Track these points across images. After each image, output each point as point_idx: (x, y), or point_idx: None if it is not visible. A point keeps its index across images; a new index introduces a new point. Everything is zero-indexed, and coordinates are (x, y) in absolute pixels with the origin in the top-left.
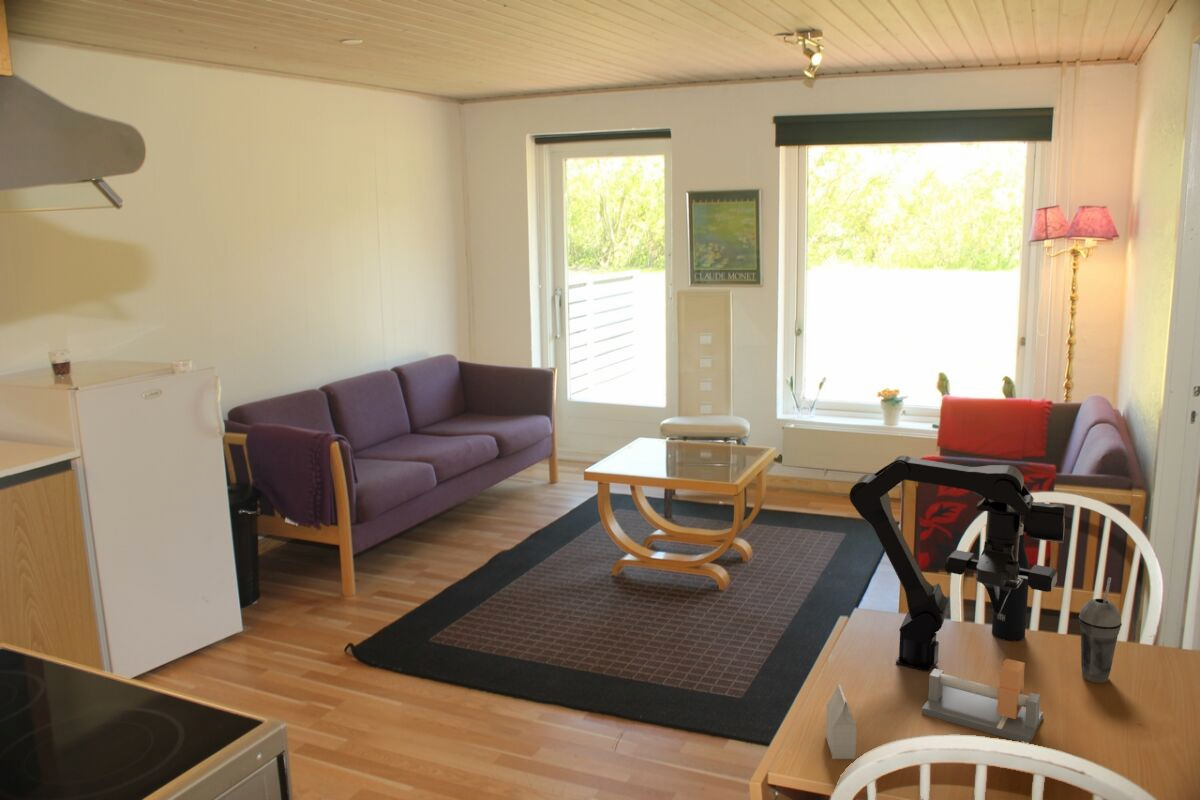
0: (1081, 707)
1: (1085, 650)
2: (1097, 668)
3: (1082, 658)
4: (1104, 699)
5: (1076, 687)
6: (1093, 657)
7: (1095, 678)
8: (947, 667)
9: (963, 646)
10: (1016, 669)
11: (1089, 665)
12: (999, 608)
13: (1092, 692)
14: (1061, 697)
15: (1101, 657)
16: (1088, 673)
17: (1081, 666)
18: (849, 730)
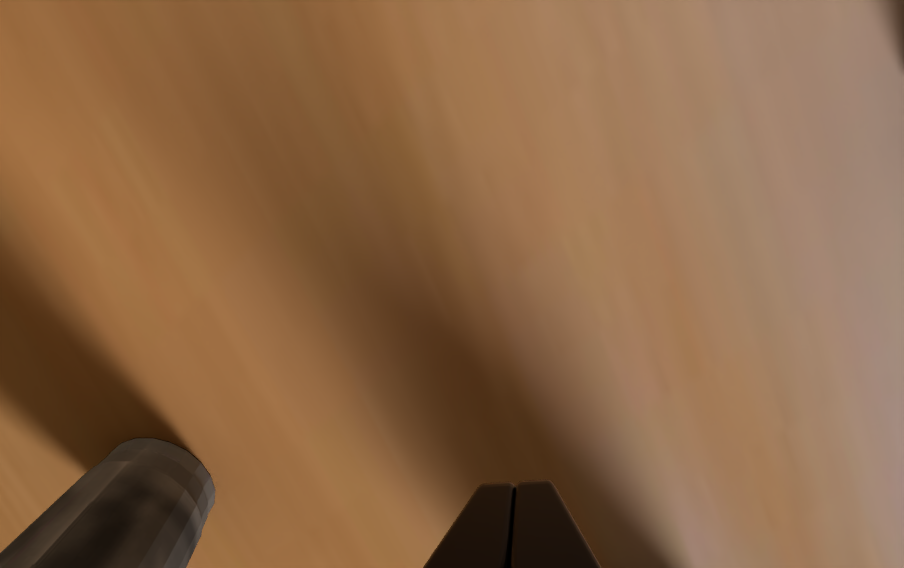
0: (12, 155)
1: (85, 559)
2: (75, 489)
3: (147, 526)
4: (7, 311)
5: (154, 345)
6: (51, 529)
7: (120, 452)
8: (833, 103)
9: (812, 429)
10: None
11: (108, 492)
12: (461, 550)
13: (80, 343)
14: (137, 195)
15: (13, 543)
16: (140, 462)
17: (189, 500)
18: None
